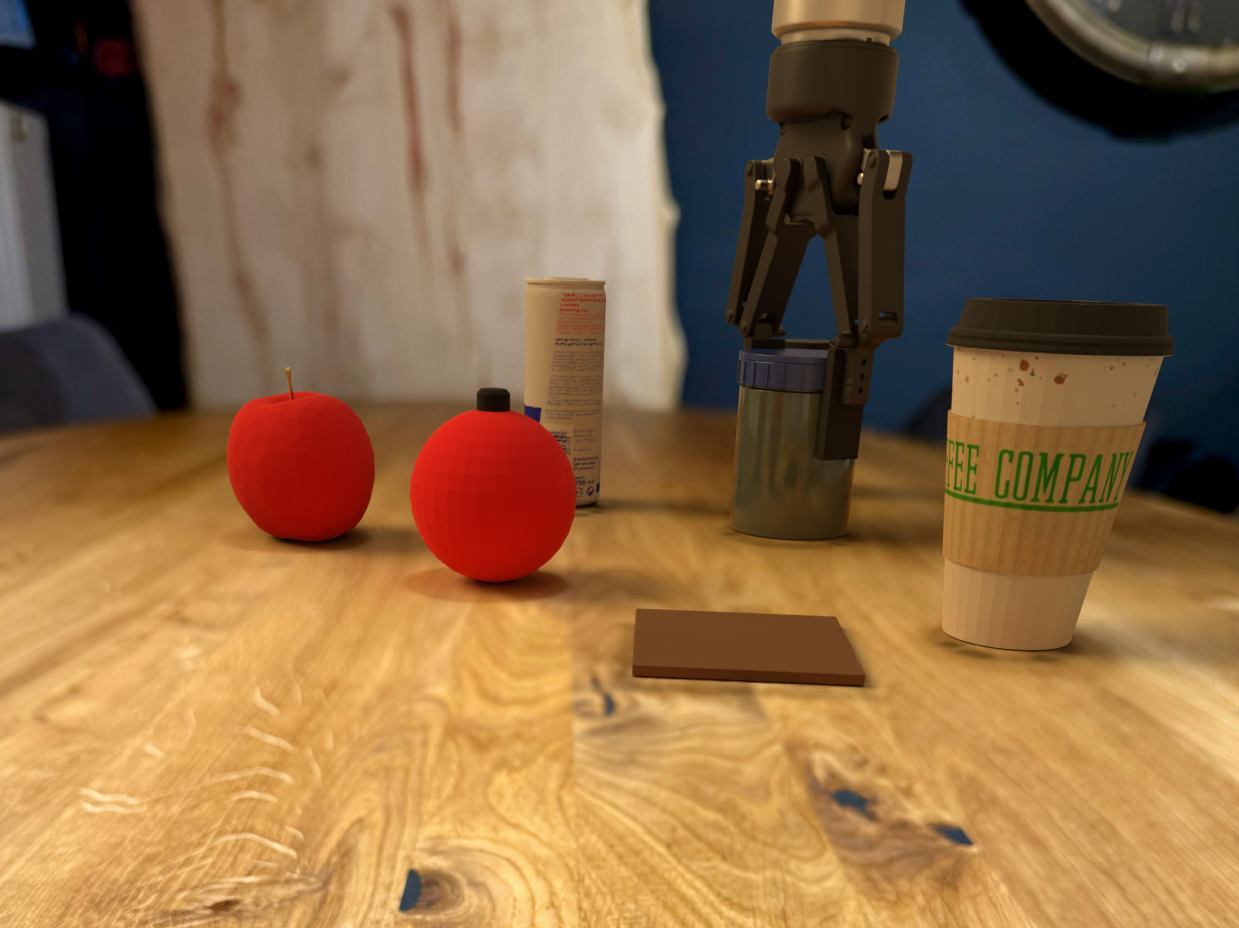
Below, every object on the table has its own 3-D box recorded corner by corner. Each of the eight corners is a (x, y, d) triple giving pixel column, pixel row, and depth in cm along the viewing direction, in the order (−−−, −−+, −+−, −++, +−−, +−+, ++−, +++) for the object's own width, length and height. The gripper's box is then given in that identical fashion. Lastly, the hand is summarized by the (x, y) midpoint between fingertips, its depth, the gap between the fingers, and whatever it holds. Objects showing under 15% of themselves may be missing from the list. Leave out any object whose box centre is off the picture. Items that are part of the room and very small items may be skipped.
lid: (858, 380, 86) (861, 350, 85) (877, 392, 79) (881, 359, 78) (733, 376, 87) (735, 346, 86) (740, 387, 79) (742, 354, 78)
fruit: (206, 531, 80) (189, 361, 76) (329, 517, 86) (320, 357, 81) (280, 557, 74) (266, 373, 70) (408, 540, 80) (403, 368, 75)
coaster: (835, 625, 63) (836, 616, 63) (864, 686, 55) (865, 674, 54) (635, 617, 64) (636, 607, 64) (631, 675, 55) (632, 664, 55)
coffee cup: (874, 636, 62) (920, 297, 55) (942, 599, 69) (990, 296, 63) (1081, 673, 57) (1158, 307, 50) (1131, 629, 64) (1203, 305, 58)
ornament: (603, 591, 69) (610, 394, 64) (448, 605, 65) (445, 397, 61) (532, 557, 76) (534, 378, 71) (389, 569, 72) (382, 380, 68)
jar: (838, 519, 90) (857, 358, 85) (854, 541, 83) (875, 367, 78) (726, 515, 91) (738, 354, 86) (732, 537, 83) (745, 363, 79)
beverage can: (611, 499, 95) (619, 278, 88) (580, 511, 90) (586, 278, 84) (544, 492, 97) (547, 275, 90) (510, 503, 92) (511, 275, 86)
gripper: (1013, 27, 68) (946, 470, 78) (784, 69, 84) (753, 428, 94) (903, 12, 64) (848, 475, 75) (687, 58, 81) (666, 431, 91)
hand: (795, 448), depth 84 cm, fingers closed on lid, 8 cm apart
